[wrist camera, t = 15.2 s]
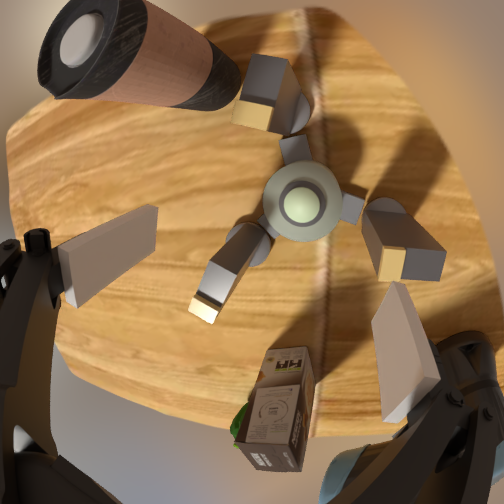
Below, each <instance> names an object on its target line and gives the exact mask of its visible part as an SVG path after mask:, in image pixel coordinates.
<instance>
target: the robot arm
mask: <svg viewBox="0 0 504 504" xmlns="http://www.w3.org/2000/svg"><path fill="white" fill-rule="evenodd" d="M157 216H158V207H155V206H152V205H149V204H147V205H144V206H142V207H140V208H137V209H135V210H133V211H130V212H128V213H126V214H124V215H121V216H119V217H117V218H115V219H112V220H110V221H108V222H106V223H104V224H102V225H100V226H97V227H95V228H93V229H91V230H89V231H87V232H84V233H82V234H80V235H78V236H77V237H74V238H72V239H71V240H68V241H66V242H64V243H62V244H60V245H58V246H56V247H55V248H53V249H51V240H50V232H49V231H48V230H47V229H44V228H37V229H33V230H30V231H28V232H26V233H25V234H24V242H25V248H26V252H25V251H21V245H20V241H19V240H16V239H8V240H6V241H4V242H2V243H1V244H0V504H122V503H121V502H120V501H119V500H118V499H117V498H116V497H114V496H113V495H112V494H111V493H110V492H108V491H107V490H106V489H104V488H103V487H102V486H100V485H99V484H98V483H96V482H95V481H94V480H93V479H91V478H90V477H89V476H87V475H86V474H84V473H83V472H82V471H80V470H79V469H78V468H76V467H75V466H74V465H72V464H71V463H70V462H69V461H67V460H66V459H65V458H64V457H62V456H61V455H59V456H58V452H57V448H56V444H55V442H54V439H53V437H52V434H51V429H50V428H51V427H50V383H51V367H52V356H53V345H54V338H55V331H56V324H57V318H58V312H59V307H60V295H59V294H61V293H62V292H63V291H65V296H66V301H67V302H68V303H69V304H71V305H72V306H74V307H76V308H77V309H78V308H79V307H80V306H81V305H83V304H84V303H85V302H87V301H88V300H89V299H90V298H92V297H93V296H94V295H96V294H97V293H98V292H99V291H101V290H102V289H103V288H105V287H106V286H107V285H109V284H110V283H111V282H113V281H114V280H115V279H117V278H118V277H119V276H121V275H122V274H124V273H125V272H126V271H128V270H129V269H130V268H132V267H133V266H135V265H136V264H137V263H139V262H140V261H141V260H143V259H144V258H146V257H147V256H149V255H150V254H151V253H153V252H154V251H155V243H156V229H157ZM3 276H4V279H5V282H6V287H5V288H3V287H2V283H1V279H2V277H3ZM371 324H372V331H373V337H374V344H375V351H376V358H377V367H378V375H379V385H380V397H381V410H382V422H390V423H399V422H400V421H401V420H402V419H403V418H404V417H405V416H406V415H407V420H408V423H407V424H406V425H405V426H404V427H402V428H401V429H400V430H399V431H398V432H397V433H395V434H394V435H393V436H392V437H393V440H390V441H386V442H383V443H378V444H374V445H371V444H367V445H365V446H363V447H360V448H356V449H351V450H346V451H344V452H341V453H340V454H338V455H337V456H336V457H335V458H334V459H333V460H332V462H331V464H330V466H329V467H328V469H327V471H326V474H325V476H324V479H323V482H322V486H321V491H320V496H319V504H487V501H488V497H489V492H490V488H491V486H492V485H494V484H495V483H496V482H498V481H499V480H500V479H501V478H503V477H504V396H503V393H502V391H501V389H500V386H499V384H498V381H497V372H496V360H495V352H494V348H493V346H492V344H491V342H490V340H489V339H488V337H487V336H486V335H485V334H483V333H481V332H478V331H467V332H462V333H459V334H456V335H454V336H451V337H449V338H447V339H446V340H444V341H442V342H441V343H439V344H438V345H436V346H435V345H434V344H433V342H432V341H431V340H430V339H427V337H426V334H425V331H424V329H423V326H422V324H421V321H420V319H419V316H418V314H417V311H416V309H415V307H414V304H413V302H412V300H411V297H410V295H409V293H408V290H407V288H406V286H405V284H402V283H399V282H396V281H392V283H391V285H390V287H389V289H388V291H387V293H386V295H385V297H384V299H383V301H382V302H381V304H380V306H379V308H378V310H377V312H376V314H375V316H374V317H373V319H372V321H371ZM14 450H15V451H16V452H15V453H14Z"/></svg>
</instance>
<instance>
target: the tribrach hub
mask: <svg viewBox="0 0 504 504" xmlns="http://www.w3.org/2000/svg"><path fill="white" fill-rule="evenodd" d="M279 144H280V148H281V151H282V155H283V159H284V163H285V167H283V168H281V169H280V170H278V171H277V172H276V173H275V174H273V176H272V177H271V178H270V179H269V181H268V182H267V184H266V187H265V189H264V193H263V209H264V214H263V215H262V216H261V217H260V218H259V219H258V220H257V221H258V222H259V223H260V224H261V225H262V226H263V227H264V228H265V230H266V231H267V232H268V233H269V234H270V235H271V236H272V237H273V238H274V239H275V238H276V237H278V236H279V235H280V234H281V235H282V236H284V237H286V238H288V239H291V240H294V241H300V242H309V241H314V240H318V239H320V238H322V237H324V236H326V235H327V234H328V233H330V232H331V231H332V230H333V229H334V228H335V226H336V225H337V223H338V221H339V219H340V220H343V221H346V222H349V223H351V224H354V225H356V223H357V221H358V218H359V215H360V213H361V210H362V207H363V204H364V202H365V200H364V199H363V198H361V197H358V196H356V195H353V194H351V193H348V192H345V191H342V190H340V187H339V184H338V182H337V179H336V177H335V175H334V174H333V172H332V171H331V170H330V169H329V168H328V167H327V166H325V165H324V164H322V163H320V162H317V161H314V160H313V159H312V155H311V151H310V148H309V144H308V140H307V136H306V134H304V135H299V136H295V137H291V138H287V139H282V140H279Z"/></svg>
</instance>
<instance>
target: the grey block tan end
mask: <svg viewBox="0 0 504 504" xmlns="http://www.w3.org/2000/svg"><path fill="white" fill-rule="evenodd" d="M270 249H271V241H270V238H269V235H268V234H267V232H266V231H265V230H264V229H263V228H262V227H261V226H259V225H257V224H255V223H251V222H244V223H240V224H238V225H236V226H235V227H234V228H233V229H232V230H231V231H230V232H229V233H228V235H227V238H226V244H225V245H224V246H223V247H222V248H221V249H220V250H219V251H218V252H217V253H216V254H215V255H214V256H213V257H212V258H211V259H210V260H209V263H208V265H207V268H206V270H205V272H204V275H203V277H202V280H201V282H200V285H199V287H198V290H197V292H196V294H195V295H194V297H193V298H192V301H191V304H190V306H189V309H188V311H190V312H192V313H193V314H195V315H197V316H198V317H200V318H202V319H204V320H205V321H207V322H209V323H211V324H213V322H214V321H215V319H216V317H217V316H218V314H219V313H220V311H221V310H222V308H223V306H224V305H225V303H226V302H227V300H228V299H229V297H230V295H231V294H232V292H233V291H234V289H235V287H236V286H237V284H238V283H239V281H240V280H241V278H242V276H243V275H244V273H245V272H246V270H247V269H248V267H253V266H257V265H259V264H261V263H262V262H264V261H265V260H266V258H267V256H268V255H269V252H270Z"/></svg>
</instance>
